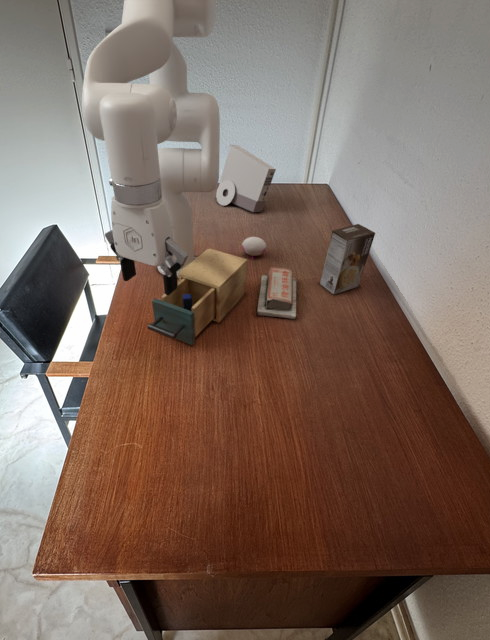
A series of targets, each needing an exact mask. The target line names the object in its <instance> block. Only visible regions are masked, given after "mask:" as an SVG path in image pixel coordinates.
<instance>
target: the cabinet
mask: <svg viewBox="0 0 490 640" xmlns="http://www.w3.org/2000/svg"><path fill="white" fill-rule="evenodd" d="M195 258H196V259H195V260H193V261H192V262H191V263H190V264H189V265H187V266H186V267H185V268H184V269H182V270H181V271H180V272H179V273H178V278H177V281H178V282H179V281H180V280H182V279H183V278H186V279H189V280H192V281H195V282H198V283H201V284H204V285H207V286H211V287H214V288H217V297H216V316H215V317H214V318H213V319H212V320H211V321H212V322H216V323H218V324H219V323H220V322H221V321H222V320H224V318H225V317H226V316H227V315H228V314H229V312H230V311H231V310H232V309H233V308H234V307H235V306H236V305H237V303H238V302H240V301H241V299H242V298H243V297H244V296H245V294H246V284H247V283H246V281H247V270H248V269H247V268H248V258H244V257H240V256H238V255H235V254H230V253H226V252H223V251H220V250H217V249H213V248H207V249H206V250H204V251H203V252H202V253H201V254H200V255H198V256H197V257H195Z"/></svg>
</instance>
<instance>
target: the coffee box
mask: <svg viewBox="0 0 490 640" xmlns="http://www.w3.org/2000/svg"><path fill="white" fill-rule="evenodd" d="M331 231H332V232H331V236H330V240H329V243H328V248H327V253H326V256H325V261H324V265H323V266H324V267H323V270H322V273H321V278H320V283H319V284H320V285H321V286H322V287H323V288H325V289H326V290H327V291H328V292H330V293H331V294H332V295H337V294H340V293H343V292H347V291H349V290H352V289H355V288H358V287H359V286H360V283H361V279H362V276H363V273H364V270H365V268H366V267H365V266H366V264H367V261H368V257H369V255H370V252H371V248H372V245H373V242H374V239H375V235H376V232H374V231H373V230H371V229H370V228H368V227H366V226H364V225H361V224H360V223H357V224H352V225H348V226H345V227H340V228H337V229H333V230H331Z"/></svg>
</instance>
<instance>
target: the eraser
mask: <svg viewBox="0 0 490 640" xmlns="http://www.w3.org/2000/svg"><path fill="white" fill-rule="evenodd" d="M183 308H184V309H187V310H189V311H192V309H191V308H192V295H191V294H183Z"/></svg>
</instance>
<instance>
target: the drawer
mask: <svg viewBox="0 0 490 640" xmlns="http://www.w3.org/2000/svg"><path fill="white" fill-rule="evenodd" d="M177 284H178V286H177V289H176V290H174V291H173V292H172V293H171V294H170V295H166V294H165V293H164V294H163V295H161V296H160V299H159V298H156V297H155V298H153V299H152V300H151V301H152V302H151V304H152V312H153V318H154V321H153V322H152V323H148V325H147V329H148V330H150V331H152V332H154V333H157V334H159V335H161V336H164V337H167V338H170V339H172V340H178V341H181V342H183V343H186V344H188V345H189V346H190V345H191V346H193V345H195V344H196V337H197V336H198V335H199V334H201V332H202V331H203V330H204V329H205V328H206V327H207V326H208V325H209V324H210V323H211V322H212V321H213V320H212V319H213V318H214V317H215V316H216V297H217V288H214V287H211V286H207V285H204V284H201V283H198V282H195V281H192V280H189V279H186V278H183V279H182V280H180V281H179V280H178V281H177ZM183 294H191V295H192V308H191V309H192V311H189V310H187V309H184V308H183Z"/></svg>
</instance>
